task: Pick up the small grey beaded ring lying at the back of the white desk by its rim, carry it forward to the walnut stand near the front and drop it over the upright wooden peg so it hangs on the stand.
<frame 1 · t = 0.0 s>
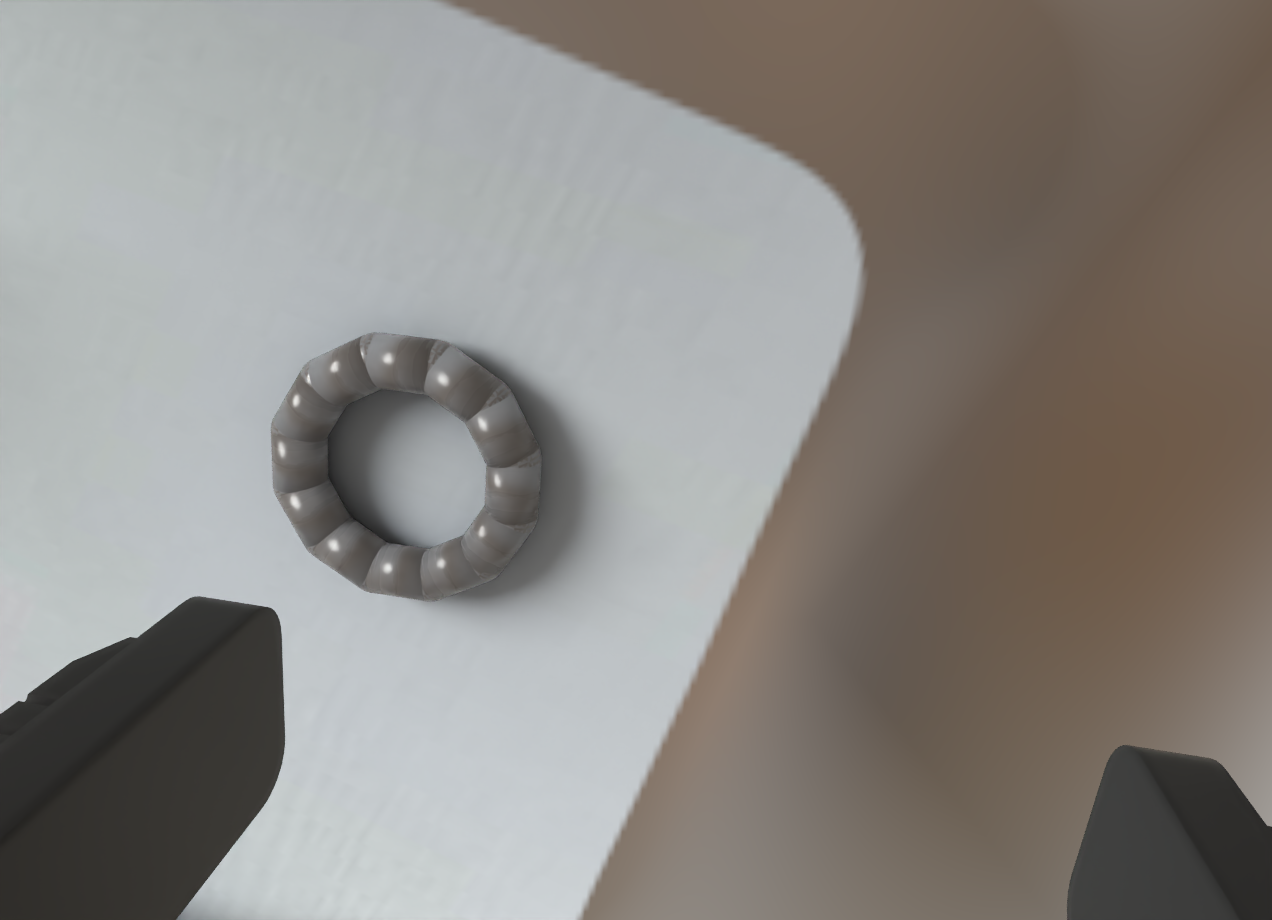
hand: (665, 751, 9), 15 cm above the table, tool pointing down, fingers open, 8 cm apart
grey beaded ring: (405, 471, 24), point 1 cm above the table
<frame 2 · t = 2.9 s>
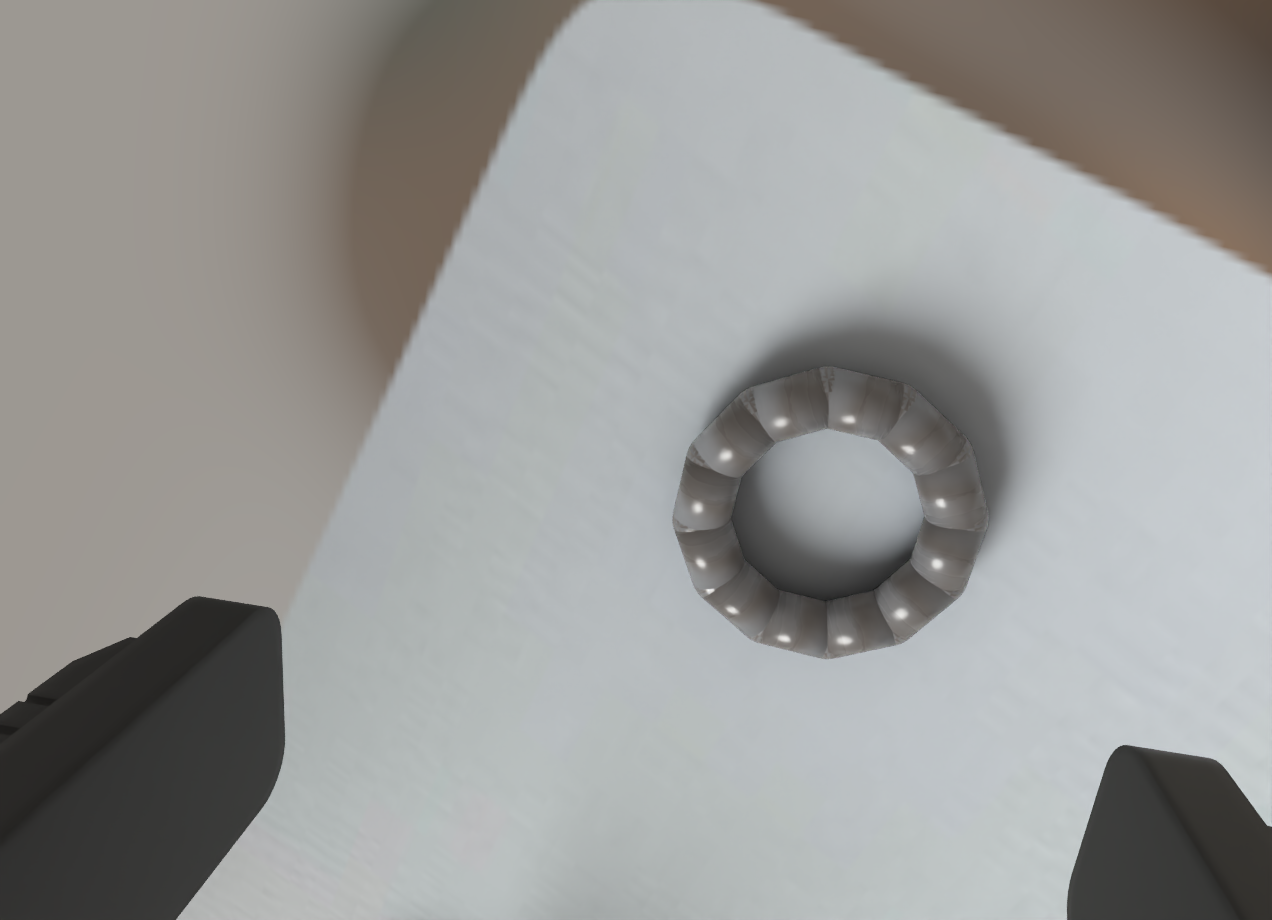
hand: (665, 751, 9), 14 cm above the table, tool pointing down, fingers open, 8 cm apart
grey beaded ring: (826, 518, 22), point 1 cm above the table
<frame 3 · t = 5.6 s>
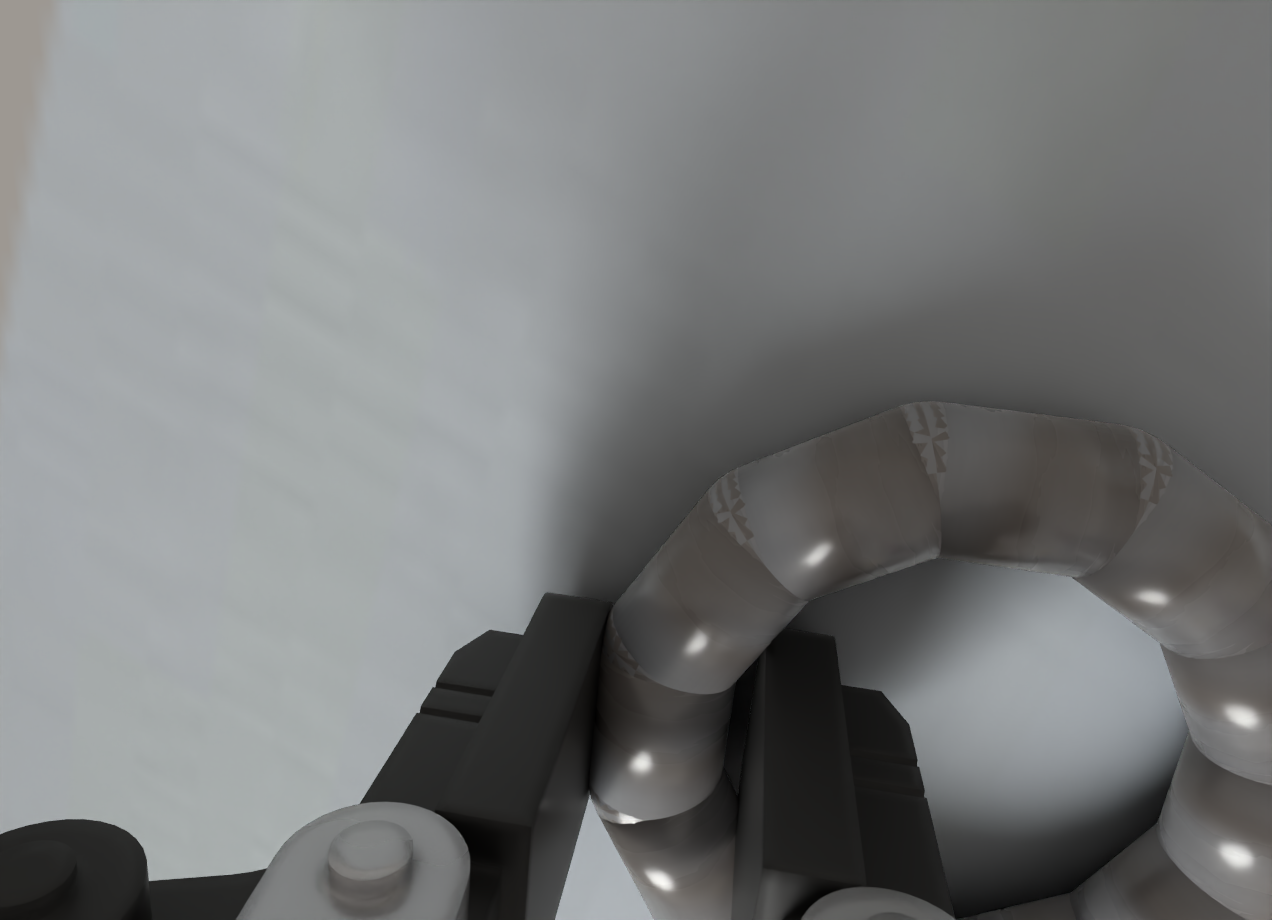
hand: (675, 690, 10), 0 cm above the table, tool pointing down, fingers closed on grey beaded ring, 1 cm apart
grey beaded ring: (948, 759, 9), point 1 cm above the table, touching gripper
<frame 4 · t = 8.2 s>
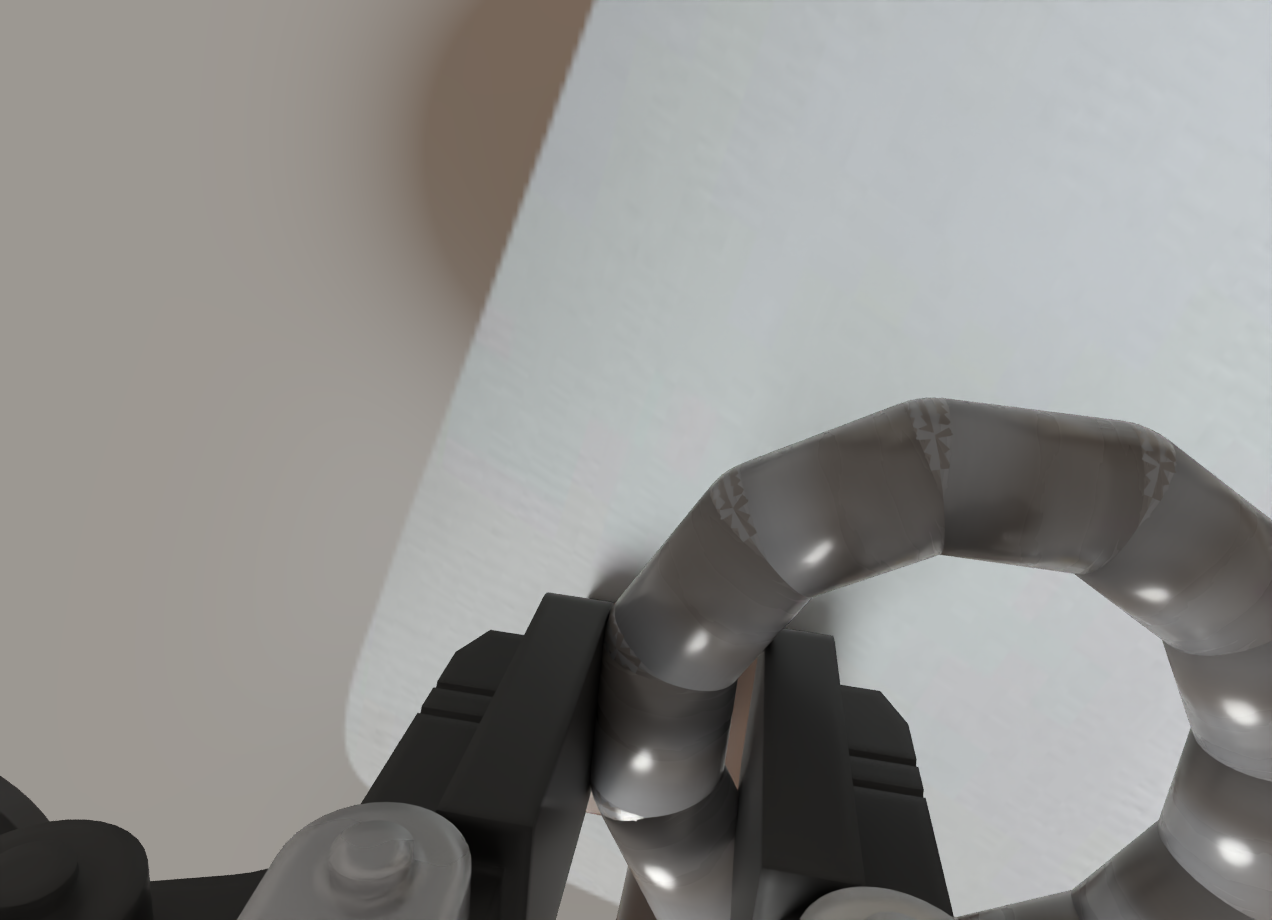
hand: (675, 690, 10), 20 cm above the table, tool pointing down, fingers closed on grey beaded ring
grey beaded ring: (950, 756, 9), point 21 cm above the table, touching gripper
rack: (684, 712, 34), on the table
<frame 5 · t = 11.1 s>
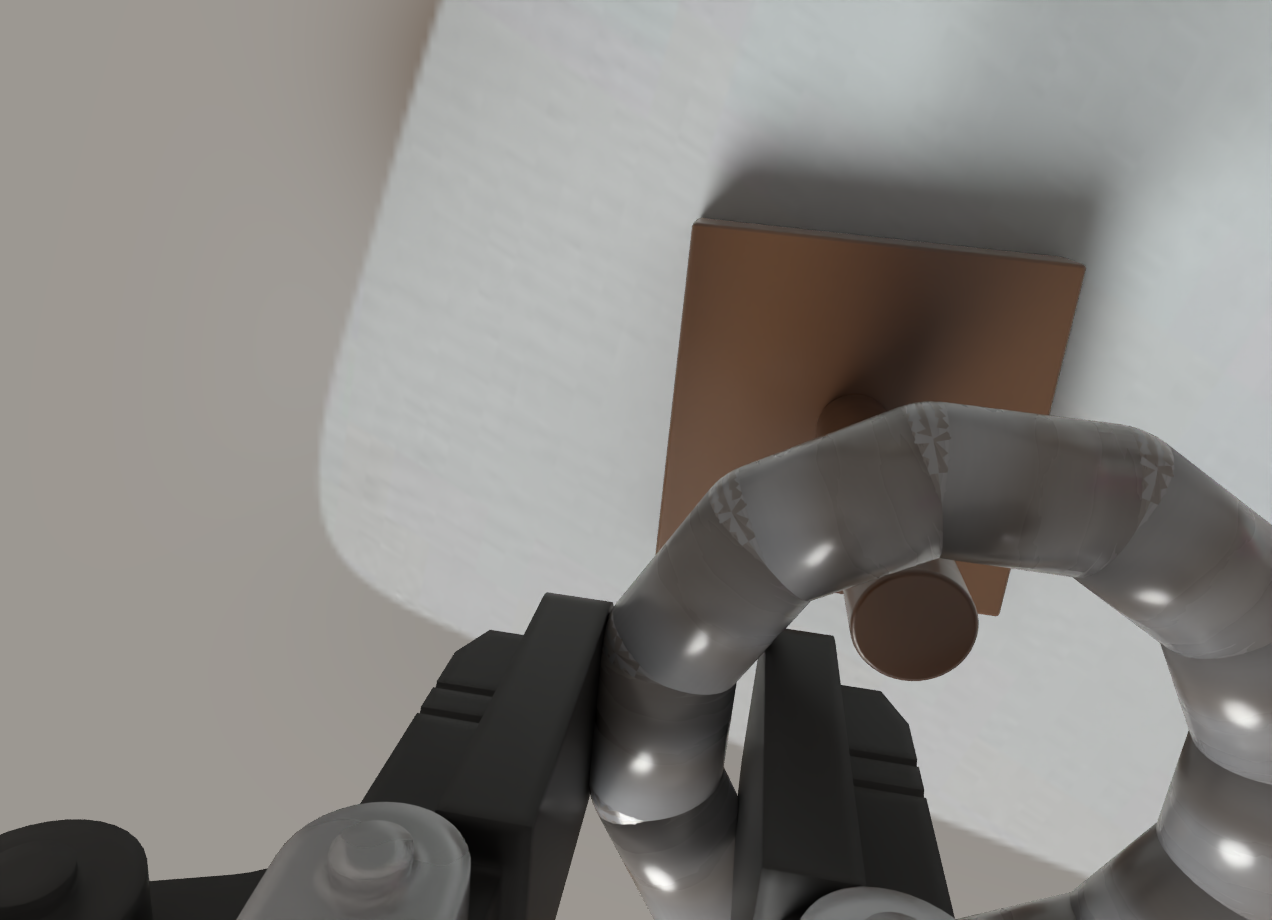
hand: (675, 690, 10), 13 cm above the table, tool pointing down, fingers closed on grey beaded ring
grey beaded ring: (949, 759, 9), point 13 cm above the table, touching gripper
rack: (847, 411, 22), on the table
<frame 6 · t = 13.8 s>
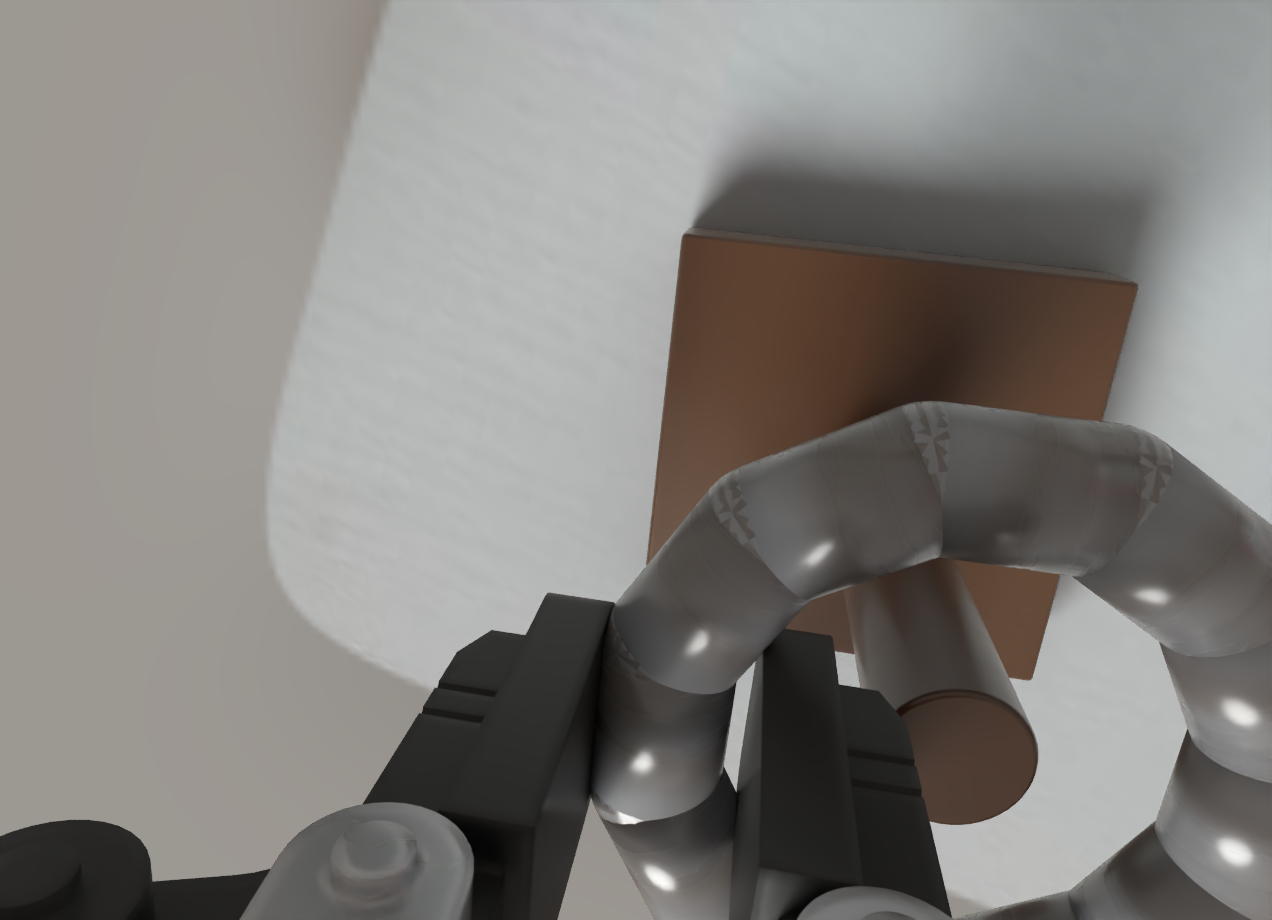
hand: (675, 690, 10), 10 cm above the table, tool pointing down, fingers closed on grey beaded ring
grey beaded ring: (948, 758, 9), point 10 cm above the table, touching gripper
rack: (859, 446, 19), on the table
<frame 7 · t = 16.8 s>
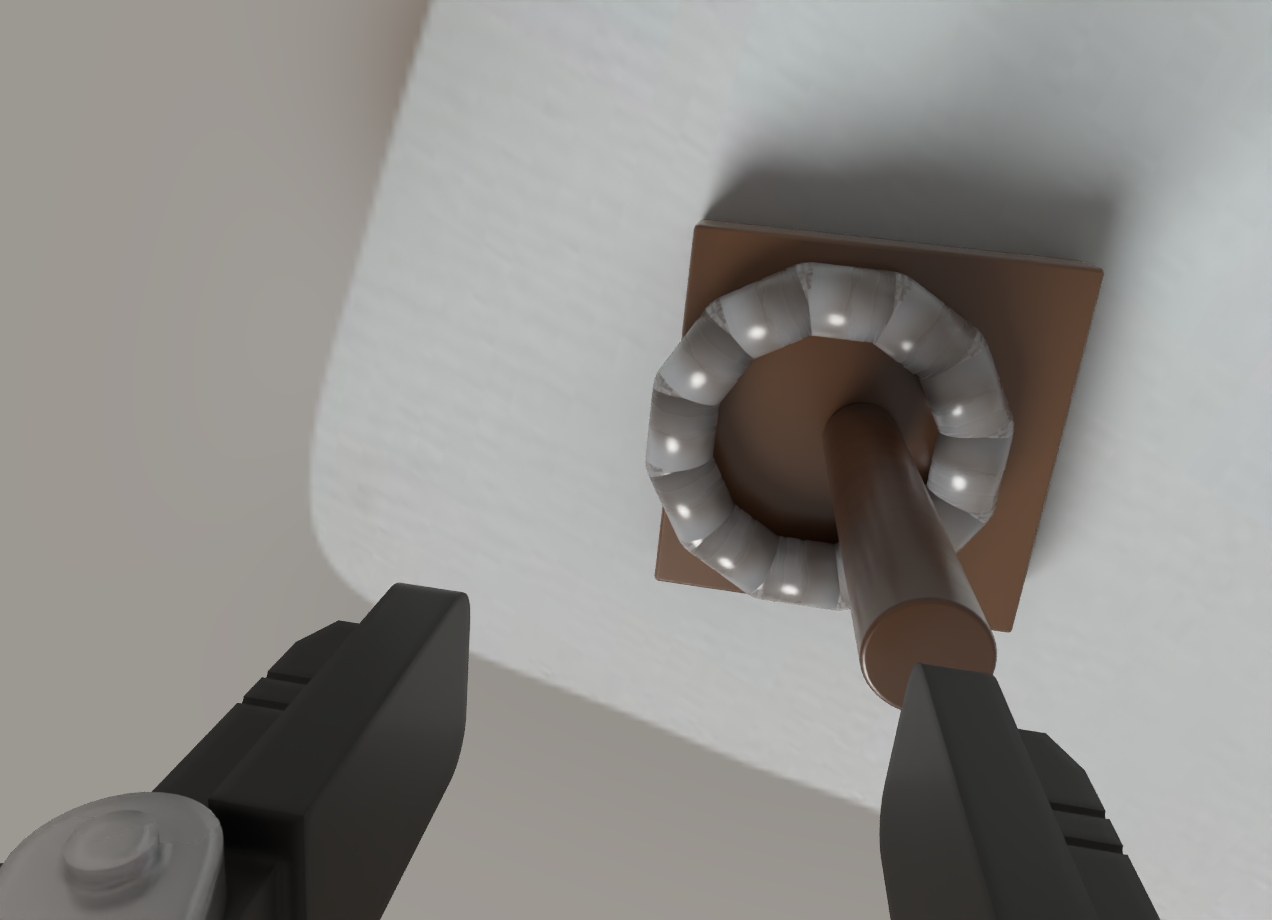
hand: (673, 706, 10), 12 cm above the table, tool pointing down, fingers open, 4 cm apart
grey beaded ring: (823, 444, 19), point 2 cm above the table, touching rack
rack: (854, 419, 21), on the table
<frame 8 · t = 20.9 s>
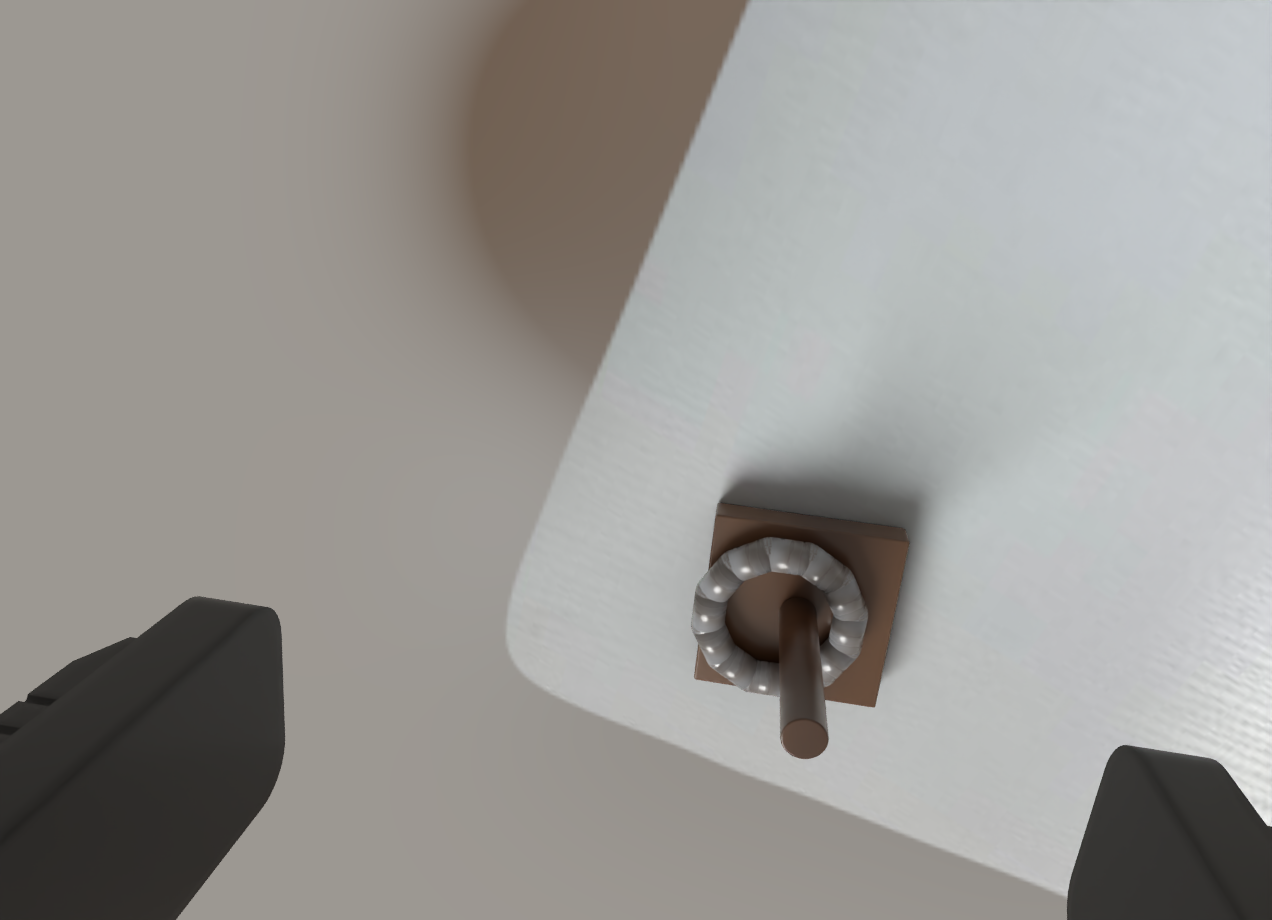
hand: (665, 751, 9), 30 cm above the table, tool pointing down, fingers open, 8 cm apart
grey beaded ring: (778, 619, 39), point 2 cm above the table, touching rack
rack: (796, 597, 41), on the table
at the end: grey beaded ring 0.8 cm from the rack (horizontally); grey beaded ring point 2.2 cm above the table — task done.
